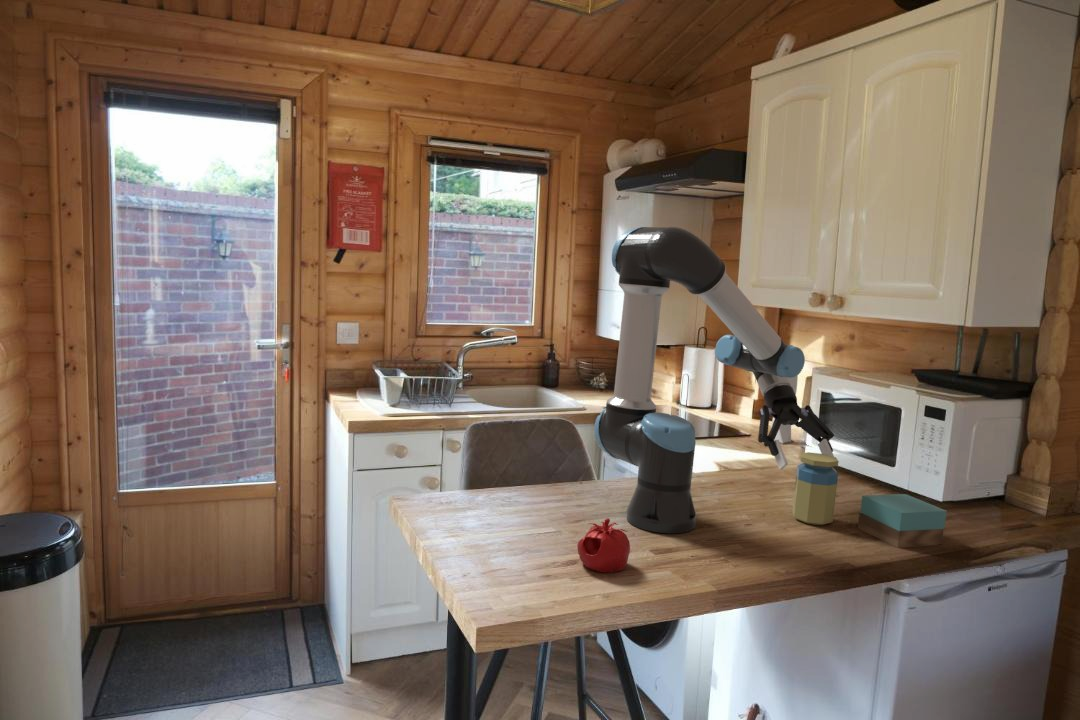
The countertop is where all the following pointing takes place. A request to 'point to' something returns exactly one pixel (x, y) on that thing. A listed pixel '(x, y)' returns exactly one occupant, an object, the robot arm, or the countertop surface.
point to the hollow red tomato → (604, 548)
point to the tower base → (899, 534)
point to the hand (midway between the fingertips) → (808, 466)
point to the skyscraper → (785, 430)
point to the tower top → (903, 512)
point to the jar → (815, 489)
